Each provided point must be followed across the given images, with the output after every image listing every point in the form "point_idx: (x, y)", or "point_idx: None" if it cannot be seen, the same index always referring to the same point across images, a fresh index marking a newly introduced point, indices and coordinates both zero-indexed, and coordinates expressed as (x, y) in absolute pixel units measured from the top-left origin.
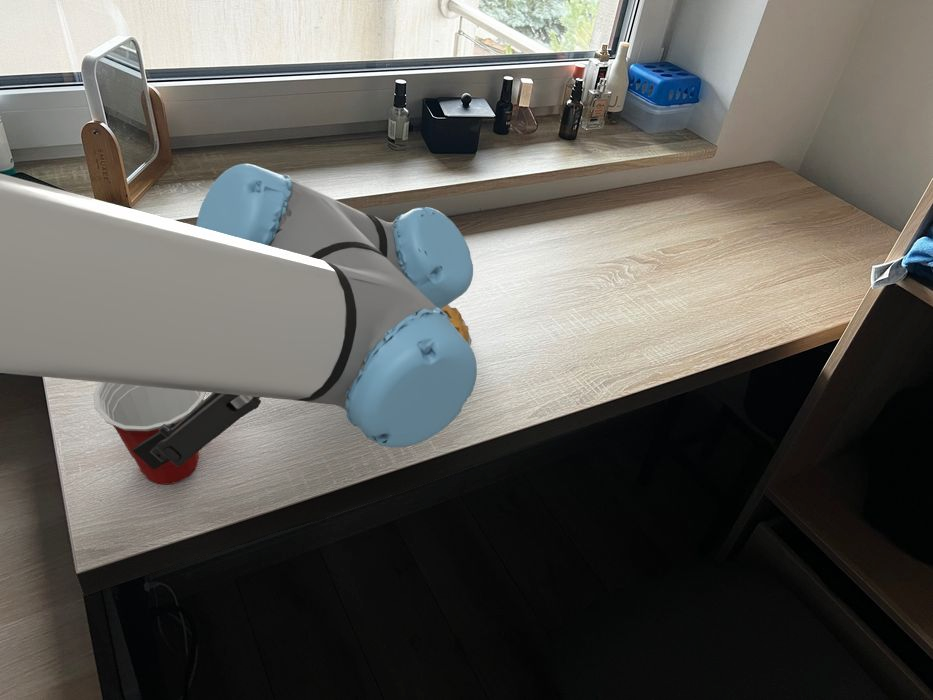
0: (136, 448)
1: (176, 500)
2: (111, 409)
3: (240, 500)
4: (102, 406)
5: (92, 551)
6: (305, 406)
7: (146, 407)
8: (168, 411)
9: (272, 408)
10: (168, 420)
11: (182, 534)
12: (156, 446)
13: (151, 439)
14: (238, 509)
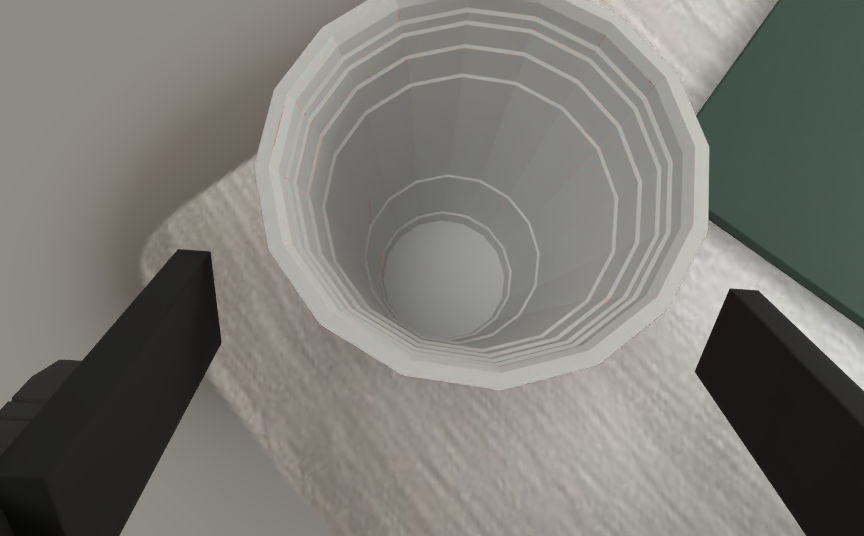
0: (165, 265)
1: (344, 347)
2: (411, 77)
3: (387, 507)
4: (364, 45)
5: (163, 245)
6: (769, 525)
7: (518, 155)
8: (545, 212)
9: (720, 433)
10: (530, 221)
11: (248, 415)
12: (47, 392)
13: (101, 340)
14: (357, 517)
